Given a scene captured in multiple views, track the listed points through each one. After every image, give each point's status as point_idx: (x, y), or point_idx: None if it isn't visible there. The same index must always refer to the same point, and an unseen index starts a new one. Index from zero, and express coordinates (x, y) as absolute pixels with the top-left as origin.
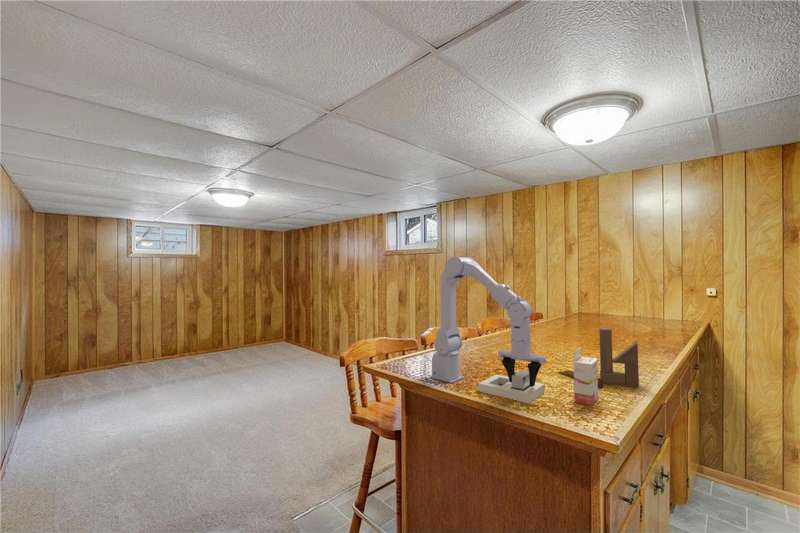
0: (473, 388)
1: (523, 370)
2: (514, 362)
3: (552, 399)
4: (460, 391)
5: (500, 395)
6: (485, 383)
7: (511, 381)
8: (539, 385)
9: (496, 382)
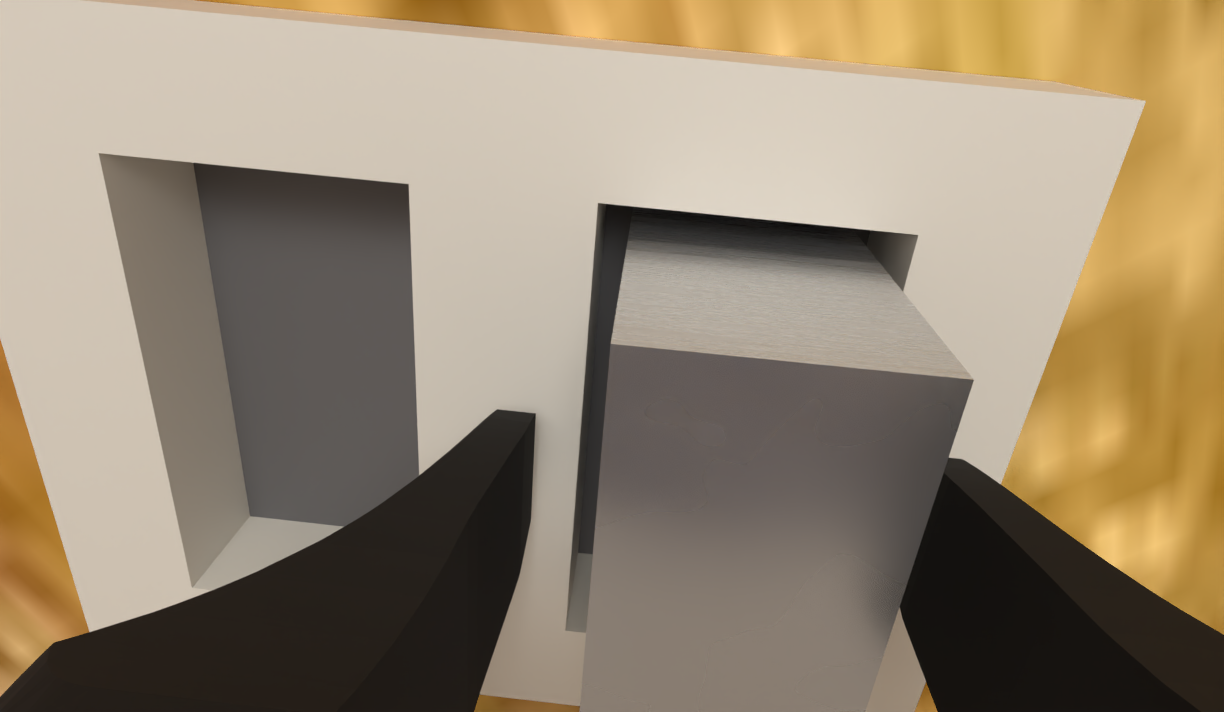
0: (45, 503)
1: (688, 360)
2: (396, 691)
3: (1183, 374)
4: (28, 654)
5: None
6: None
7: (525, 539)
8: (1031, 271)
9: (176, 287)
